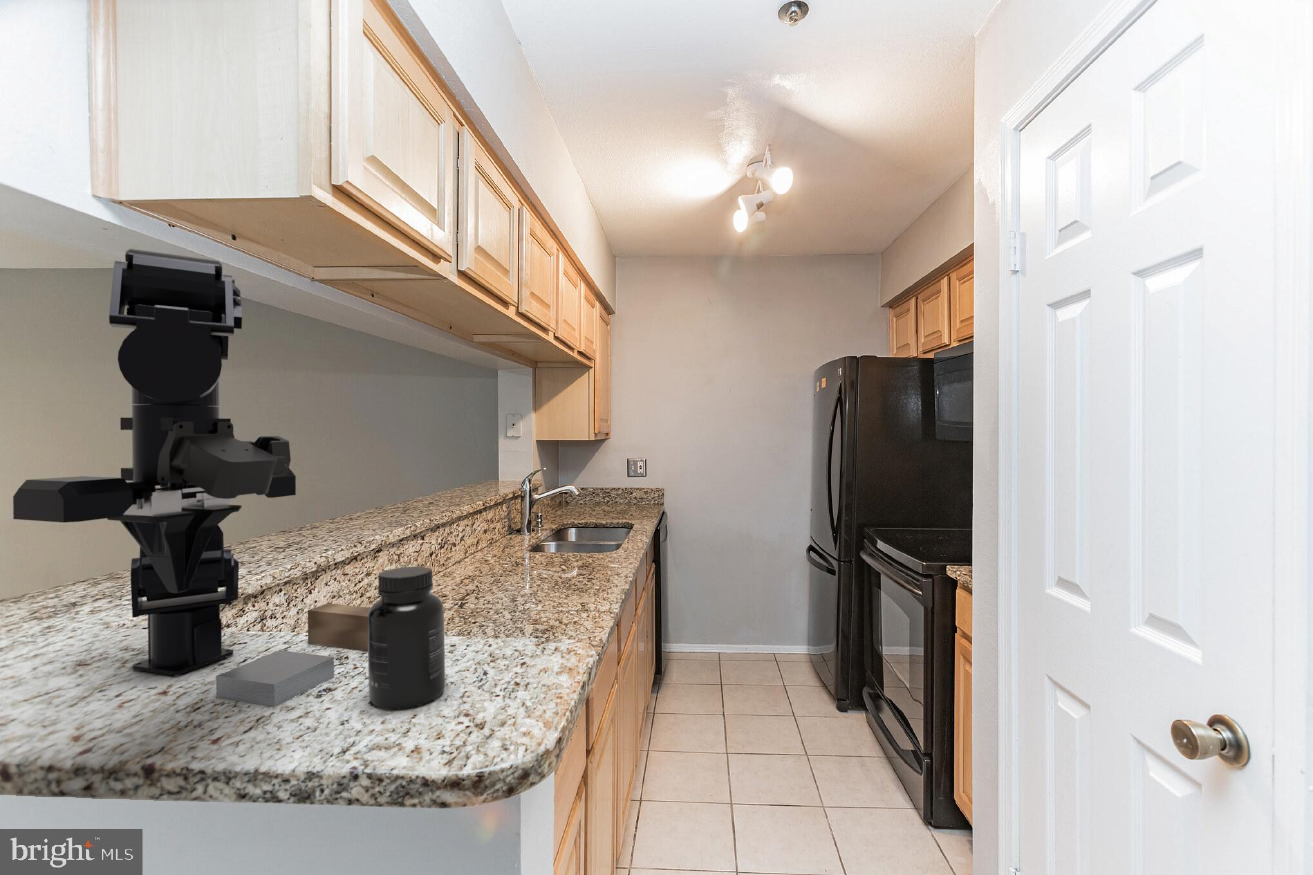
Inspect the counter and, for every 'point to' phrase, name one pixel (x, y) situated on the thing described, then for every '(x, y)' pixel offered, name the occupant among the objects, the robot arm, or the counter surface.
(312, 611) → the curved brown bar
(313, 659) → the grey metal plate
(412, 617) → the supplement bottle
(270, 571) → the counter surface
